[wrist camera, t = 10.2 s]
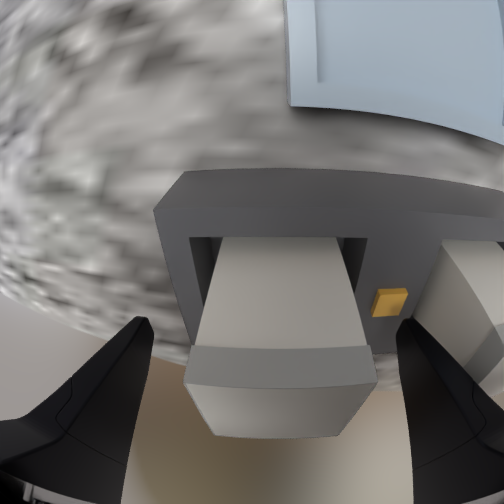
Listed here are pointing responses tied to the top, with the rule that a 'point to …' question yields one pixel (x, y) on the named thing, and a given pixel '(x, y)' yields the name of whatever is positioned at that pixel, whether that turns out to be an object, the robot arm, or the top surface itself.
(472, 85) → the tray
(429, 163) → the top surface
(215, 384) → the plug
